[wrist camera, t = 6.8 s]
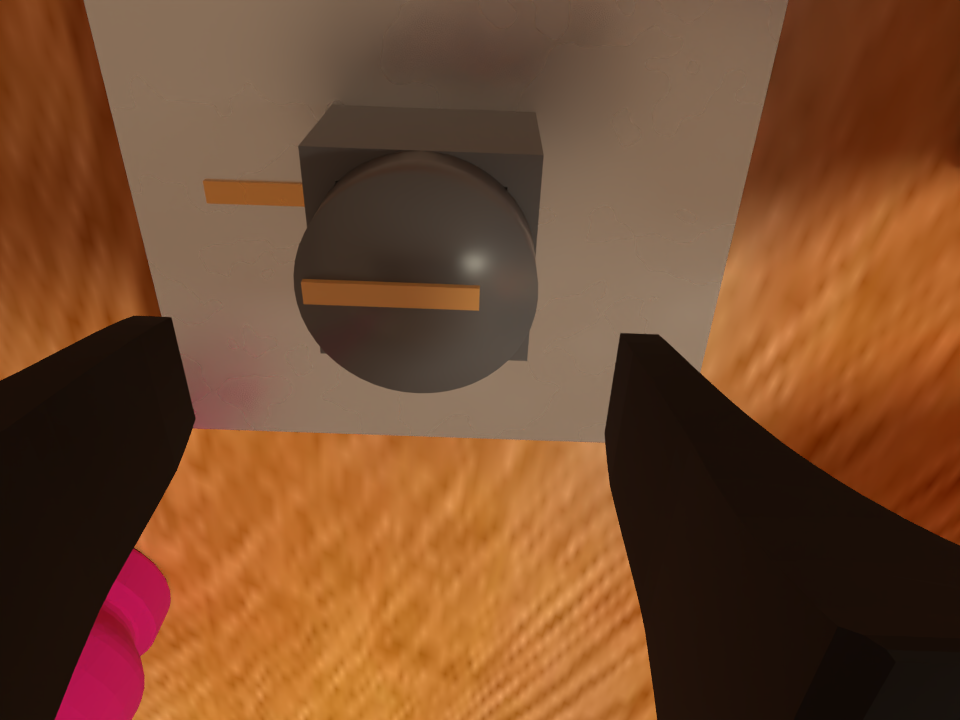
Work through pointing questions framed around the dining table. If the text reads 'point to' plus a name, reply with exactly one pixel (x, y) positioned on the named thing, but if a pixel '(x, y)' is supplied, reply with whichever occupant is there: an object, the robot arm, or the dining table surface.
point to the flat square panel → (439, 85)
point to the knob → (420, 242)
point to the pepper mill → (118, 646)
